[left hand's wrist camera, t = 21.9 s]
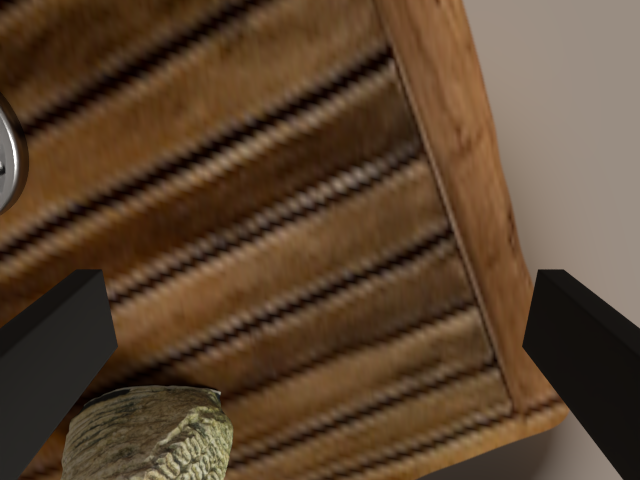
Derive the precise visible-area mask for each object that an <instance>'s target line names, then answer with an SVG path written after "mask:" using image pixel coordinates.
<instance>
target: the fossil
mask: <svg viewBox="0 0 640 480" xmlns="http://www.w3.org/2000/svg"><path fill="white" fill-rule="evenodd" d="M220 393H221V392H219V391H215V390H212V389H208V388H195V387H188V386H168V387H167V386H158V385H153V386H136V387H127V388H121V389H117V390H114V391H112V392H109V393H106V394H104V395H102V396H101V397H98V398H94V399H92V400H91V401H89V402H88V403H86V404H85V405H84V407H83V409H82V410H81V411H80V413H79V414H78V415H76V416H75V417H74V418H73V419H71V422H70V425H69V433H68V434H67V435H66V443H65V448H64V452H63V458H62V466H63V473H62V478H61V480H223V479H224V477H225V472H226V470H227V469H226V467H227V465H228V461H229V456H230V450H231V446H232V439H233V426H232V423H231V421H230V419H229V418H228V417H227V416H226V415H225V414H224V412H223V411H222V409H221V407H220V406H221V403H220Z"/></svg>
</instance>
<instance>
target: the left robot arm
mask: <svg viewBox="0 0 640 480" xmlns="http://www.w3.org/2000/svg"><path fill="white" fill-rule="evenodd" d="M28 169H29V155H28V147H27V142H26V138H25V135H24V132H23V129H22V127H21V124H20V122H19V120H18V118H17V116H16V114H15V112H14V111H13V109H12V107H11V106H10V104H9V103H8V101H7V100H6V98H5V97H4V96H3V95H2V93H1V92H0V215H2V214H3V213H4V212H6V211H7V210H8V209H9V208H11V207H12V206H13V205H14V203H15V202H16V201H17V200H18V198H19V197H20V195H21V193H22V191H23V189H24V187H25V184H26V181H27V176H28ZM117 347H118V345H117V340H116V335H115V330H114V326H113V321H112V316H111V311H110V306H109V301H108V297H107V292H106V287H105V282H104V277H103V272H102V270H75V271H74V272H73V273H71V274H70V275H69V276H67V277H66V278H65V279H64V280H62V281H61V282H60V283H58V284H57V285H56V286H54V287H53V288H52V289H51V290H49V291H48V292H47V293H45V294H44V295H43V296H42V297H40V298H39V299H38V300H36V301H35V302H34V303H33V304H31V305H30V306H29V307H27V308H26V309H25V310H24V311H22V312H21V313H20V314H18V315H17V316H16V317H14V318H13V319H12V320H11V321H9V322H8V323H7V324H5V325H4V326H3V327H2V328H0V480H17V479H18V477H19V476H20V475H21V473H22V472H23V471H24V469H25V468H26V467H27V465H28V464H29V463H30V461H31V460H32V459H33V458H34V456H35V455H36V454H37V452H38V451H39V450H40V448H41V447H42V446H43V444H44V443H45V442H46V440H47V439H48V438H49V437H50V435H51V434H52V433H53V431H54V430H55V429H56V427H57V426H58V425H59V423H60V422H61V421H62V419H63V418H64V417H65V415H66V414H67V413H68V412H69V410H70V409H71V408H72V406H73V405H74V404H75V402H76V401H77V400H78V398H79V397H80V396H81V394H82V393H83V392H84V390H85V389H86V388H87V387H88V385H89V384H90V383H91V381H92V380H93V379H94V377H95V376H96V375H97V373H98V372H99V371H100V369H101V368H102V367H103V366H104V364H105V363H106V362H107V360H108V359H109V358H110V356H111V355H112V354H113V352H114V351H115V350H116V348H117ZM522 347H523V348H524V350H525V351H526V352H527V354H528V355H529V356H530V358H531V359H532V360H533V362H534V363H535V364H536V366H537V367H538V368H539V369H540V371H541V372H542V373H543V375H544V376H545V377H546V379H547V380H548V381H549V383H550V384H551V385H552V387H553V388H554V389H555V390H556V392H557V393H558V394H559V396H560V397H561V398H562V400H563V401H564V402H565V404H566V405H567V406H568V408H569V409H570V410H571V412H572V413H573V414H574V415H575V417H576V418H577V419H578V421H579V422H580V423H581V425H582V426H583V427H584V429H585V430H586V431H587V433H588V434H589V435H590V437H591V438H592V439H593V440H594V442H595V443H596V444H597V446H598V447H599V448H600V450H601V451H602V452H603V454H604V455H605V456H606V457H607V459H608V460H609V461H610V463H611V464H612V465H613V467H614V468H615V469H616V471H617V472H618V473H619V475H620V476H621V477H622V479H623V480H640V328H638V327H637V326H636V325H635V324H633V323H632V322H631V321H629V320H628V319H627V318H625V317H624V316H623V315H622V314H620V313H619V312H618V311H616V310H615V309H614V308H613V307H611V306H610V305H609V304H607V303H606V302H605V301H603V300H602V299H601V298H600V297H598V296H597V295H596V294H595V293H593V292H592V291H591V290H589V289H588V288H587V287H586V286H584V285H583V284H582V283H580V282H579V281H578V280H576V279H575V278H574V277H573V276H571V275H570V274H569V273H567V272H566V271H565V270H538V272H537V277H536V282H535V287H534V292H533V297H532V301H531V306H530V311H529V316H528V321H527V326H526V330H525V335H524V340H523V345H522Z"/></svg>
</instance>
